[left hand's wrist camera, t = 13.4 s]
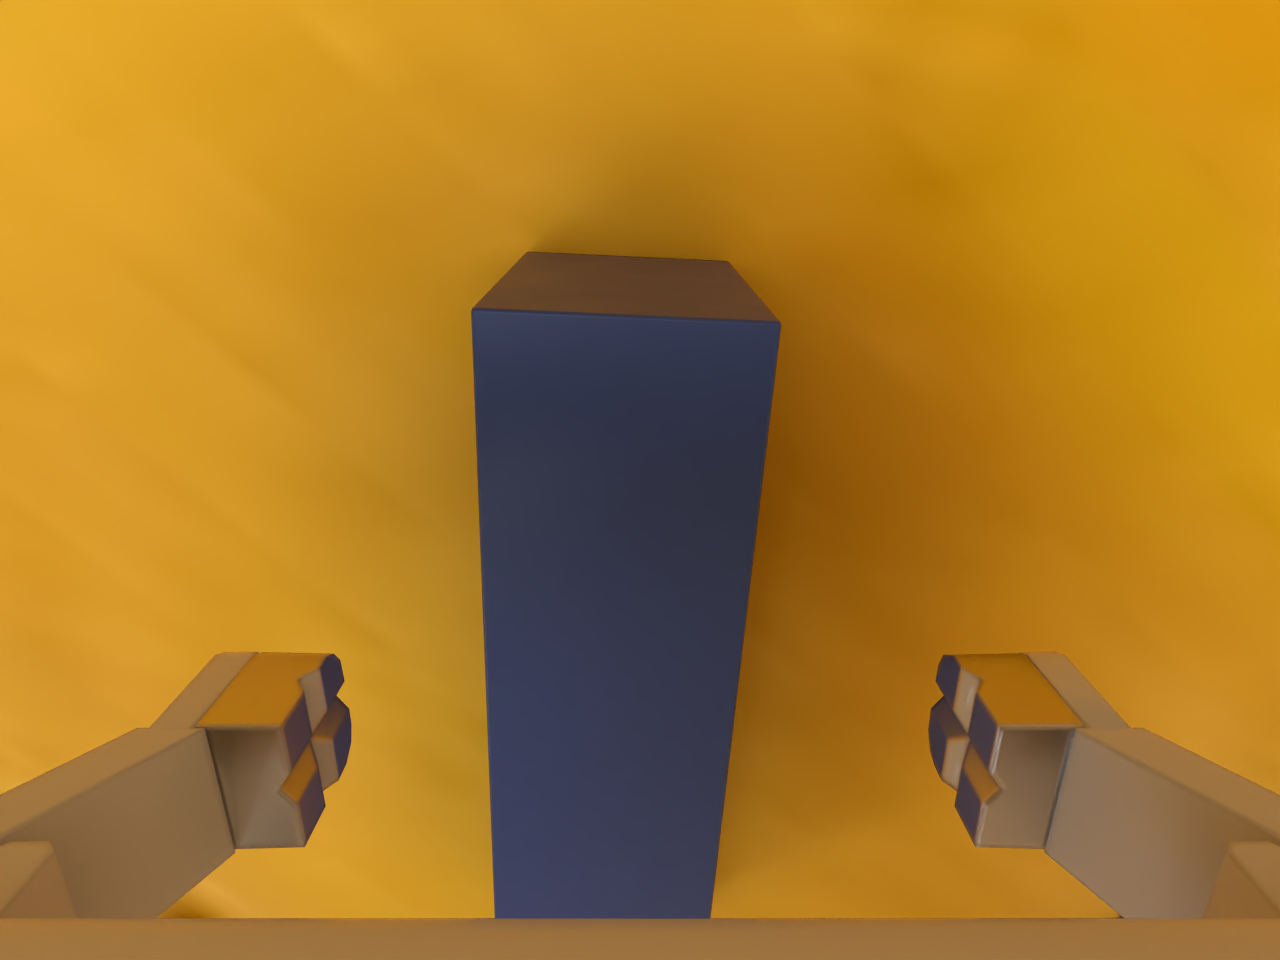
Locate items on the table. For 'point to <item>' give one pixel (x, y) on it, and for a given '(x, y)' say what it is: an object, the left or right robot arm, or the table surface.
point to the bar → (615, 571)
